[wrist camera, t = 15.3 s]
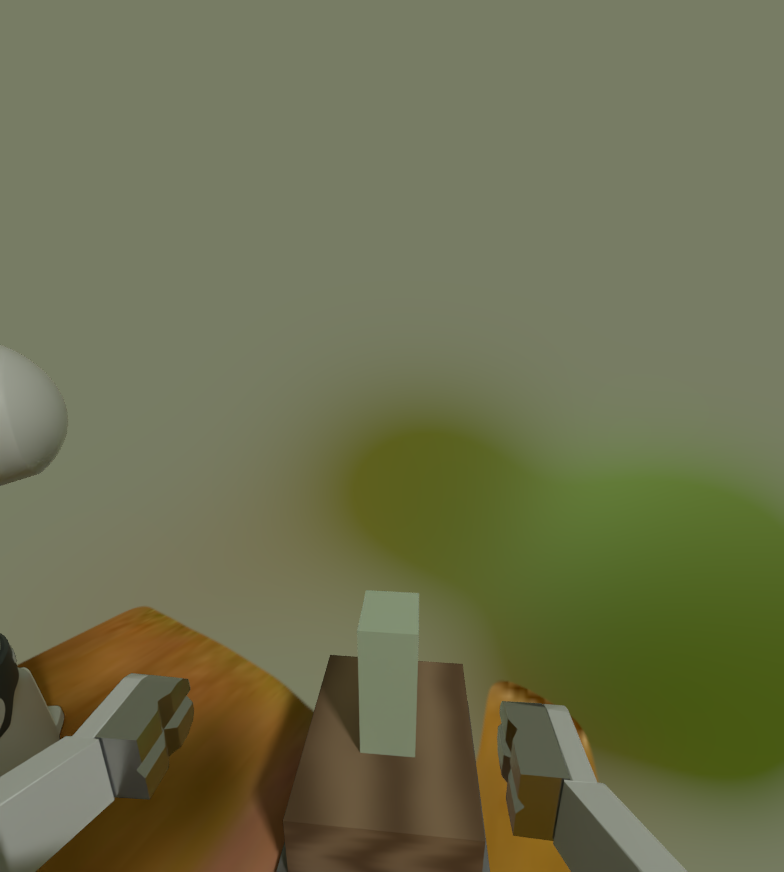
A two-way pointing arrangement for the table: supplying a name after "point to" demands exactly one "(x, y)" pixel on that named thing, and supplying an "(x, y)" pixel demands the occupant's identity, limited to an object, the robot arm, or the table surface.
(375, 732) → the pillar
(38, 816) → the robot arm
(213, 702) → the table surface
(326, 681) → the base
